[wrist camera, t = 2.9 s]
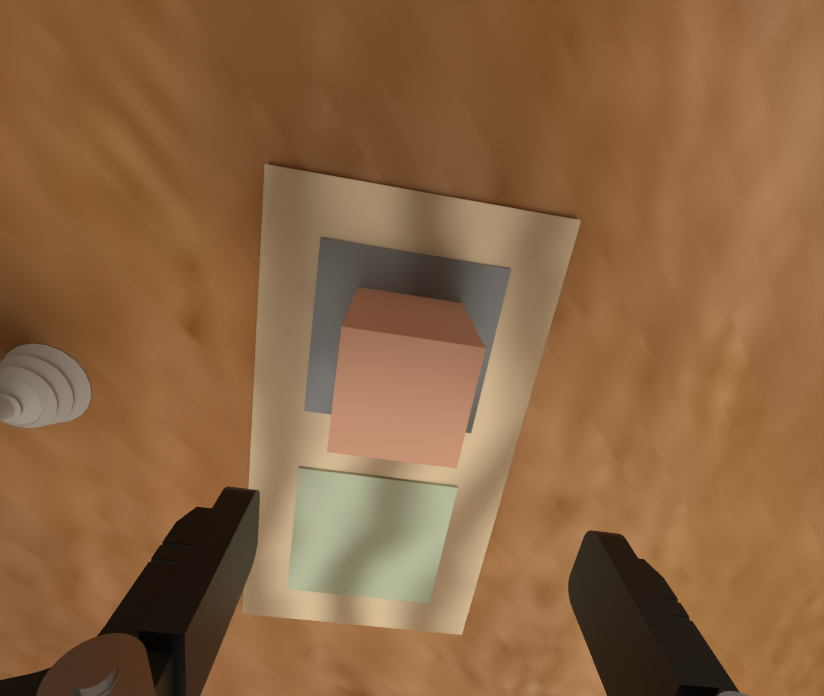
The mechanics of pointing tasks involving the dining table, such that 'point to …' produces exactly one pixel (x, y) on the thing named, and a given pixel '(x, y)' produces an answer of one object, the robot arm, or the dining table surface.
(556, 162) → the dining table surface
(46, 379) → the chalice
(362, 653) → the dining table surface
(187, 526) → the robot arm
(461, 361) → the terracotta block
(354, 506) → the board
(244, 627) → the dining table surface
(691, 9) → the dining table surface
